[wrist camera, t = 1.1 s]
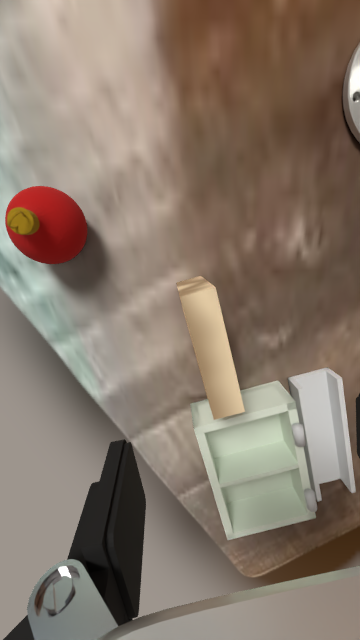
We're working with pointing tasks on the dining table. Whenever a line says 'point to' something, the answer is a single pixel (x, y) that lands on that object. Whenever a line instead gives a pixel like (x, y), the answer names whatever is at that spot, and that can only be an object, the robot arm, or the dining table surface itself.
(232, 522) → the cabinet
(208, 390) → the beige flat block
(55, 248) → the christmas ornament
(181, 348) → the dining table surface
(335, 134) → the dining table surface
